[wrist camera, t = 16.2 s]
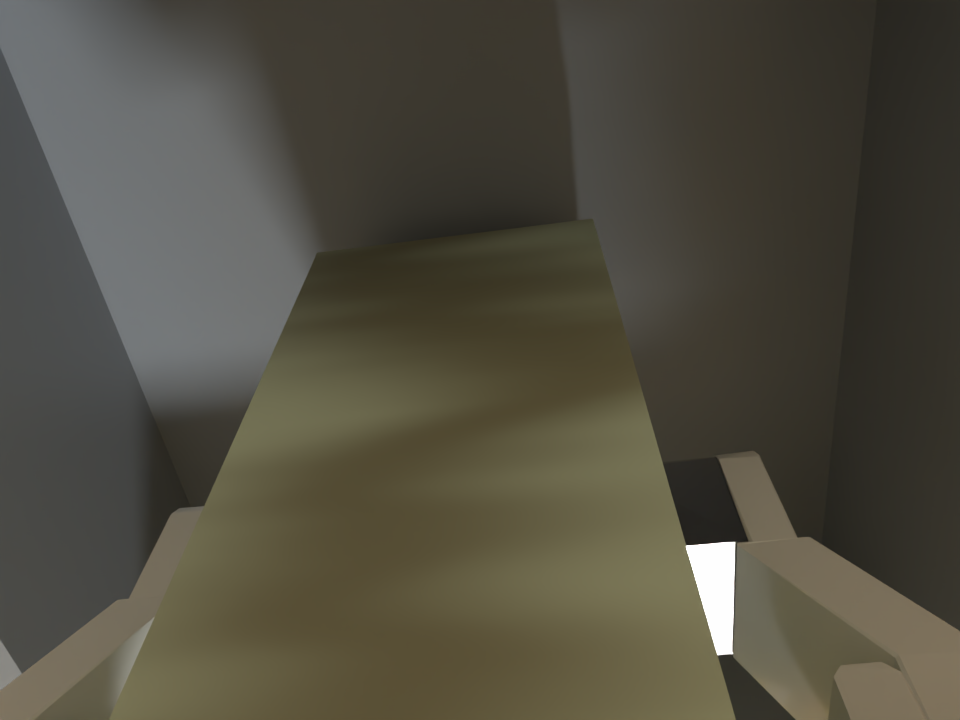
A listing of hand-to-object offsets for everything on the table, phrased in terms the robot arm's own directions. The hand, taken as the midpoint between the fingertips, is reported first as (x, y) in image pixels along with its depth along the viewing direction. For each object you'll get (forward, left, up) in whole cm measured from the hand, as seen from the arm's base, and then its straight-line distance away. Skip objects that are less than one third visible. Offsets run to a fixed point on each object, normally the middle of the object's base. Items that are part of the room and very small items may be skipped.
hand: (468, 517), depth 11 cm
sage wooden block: (0, 0, -4) cm, 4 cm away
